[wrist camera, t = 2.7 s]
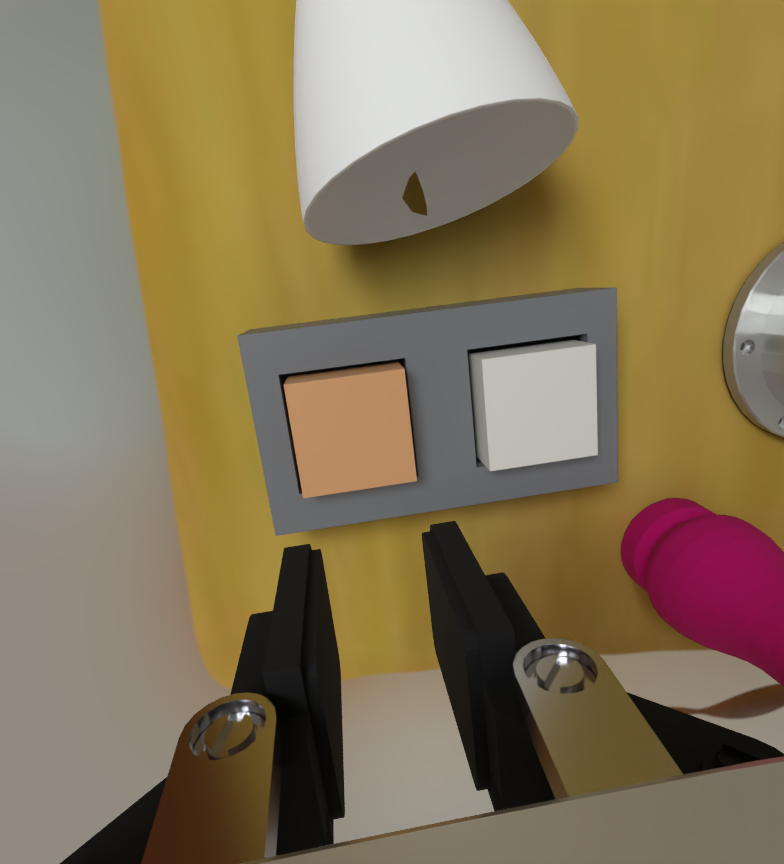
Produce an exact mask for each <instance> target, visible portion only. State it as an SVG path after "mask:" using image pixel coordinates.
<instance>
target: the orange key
mask: <svg viewBox="0 0 784 864" xmlns="http://www.w3.org/2000/svg"><path fill="white" fill-rule="evenodd" d="M284 390H285V396H286V402H287V407H288V413H289V419H290V425H291V430H292V436H293V442H294V448H295V454H296V459H297V465H298V471H299V477H300V482H301V488H302V494H303V498H309V497H316V496H322V495H329V494H336V493H342V492H349V491H355V490H362V489H369V488H375V487H382V486H388V485H395V484H402V483H408V482H415V481H417V476H416V467H415V458H414V449H413V440H412V432H411V423H410V414H409V405H408V396H407V387H406V378H405V369H404V368H403V367H402V366H401V365H400V363H399V362H393V363H385V364H378V365H370V366H363V367H355V368H348V369H341V370H333V371H326V372H318V373H311V374H303V375H296V376H288V377H287V379H286V381H285V383H284Z"/></svg>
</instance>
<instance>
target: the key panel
mask: <svg viewBox="0 0 784 864" xmlns="http://www.w3.org/2000/svg"><path fill="white" fill-rule="evenodd" d="M567 340H577V341H582V342H587V343H592V344H596V379H597V438H598V455H595V456H588V457H582V458H575V459H568V460H562V461H555V462H549V463H542V464H536V465H529V466H522V467H516V468H509V469H503V470H496V471H489V470H488V469H487V467H486V466H485V465H484V464H483V463H482V462H481V461H480V460H479V458H478V457H477V452H476V439H475V426H474V414H473V401H472V389H471V376H470V364H469V354H470V353H478V352H485V351H493V350H500V349H508V348H515V347H523V346H530V345H538V344H545V343H552V342H560V341H567ZM238 341H239V346H240V352H241V357H242V362H243V367H244V372H245V378H246V383H247V388H248V393H249V399H250V404H251V409H252V414H253V419H254V425H255V430H256V435H257V440H258V445H259V451H260V456H261V461H262V466H263V471H264V477H265V482H266V487H267V492H268V498H269V503H270V508H271V513H272V518H273V524H274V529H275V534H276V536H278V535H284V534H290V533H297V532H303V531H310V530H316V529H322V528H329V527H335V526H342V525H348V524H354V523H361V522H367V521H374V520H380V519H386V518H393V517H399V516H406V515H412V514H418V513H425V512H431V511H438V510H444V509H450V508H457V507H463V506H470V505H476V504H482V503H489V502H495V501H502V500H508V499H514V498H521V497H527V496H534V495H540V494H546V493H553V492H559V491H566V490H572V489H578V488H585V487H591V486H597V485H604V484H610V483H617V482H618V419H617V288H575V289H567V290H559V291H552V292H544V293H536V294H528V295H520V296H512V297H504V298H496V299H488V300H480V301H472V302H464V303H457V304H449V305H441V306H433V307H425V308H417V309H409V310H401V311H393V312H385V313H377V314H369V315H362V316H354V317H346V318H338V319H330V320H322V321H314V322H306V323H298V324H290V325H282V326H274V327H267V328H259V329H251V330H248V331H246V332H244V333H242V334H240V335H238ZM393 362H399V363H400V365H401V366H402V367H403V368H404V369H405V378H406V387H407V396H408V405H409V414H410V423H411V432H412V440H413V449H414V458H415V467H416V476H417V481H415V482H408V483H402V484H395V485H388V486H382V487H375V488H369V489H362V490H355V491H349V492H342V493H336V494H329V495H322V496H316V497H309V498H303V494H302V488H301V482H300V477H299V471H298V465H297V459H296V454H295V448H294V442H293V436H292V430H291V425H290V419H289V413H288V407H287V402H286V396H285V390H284V383H285V381H286V379H287V377H288V376H296V375H303V374H311V373H318V372H326V371H333V370H341V369H348V368H355V367H363V366H370V365H378V364H385V363H393Z"/></svg>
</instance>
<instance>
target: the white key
mask: <svg viewBox="0 0 784 864" xmlns="http://www.w3.org/2000/svg"><path fill="white" fill-rule="evenodd" d="M469 364H470V376H471V389H472V401H473V414H474V426H475V439H476V452H477V457H478V458H479V460H480V461H481V462H482V463H483V464H484V465H485V466H486V467H487V469H488V470H489V471H496V470H503V469H509V468H516V467H522V466H529V465H536V464H542V463H549V462H555V461H562V460H568V459H575V458H582V457H588V456H595V455H598V438H597V379H596V344H592V343H587V342H582V341H577V340H567V341H560V342H552V343H545V344H538V345H530V346H523V347H515V348H508V349H500V350H493V351H485V352H478V353H470V354H469Z"/></svg>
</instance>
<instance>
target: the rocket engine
mask: <svg viewBox="0 0 784 864" xmlns="http://www.w3.org/2000/svg"><path fill="white" fill-rule="evenodd" d="M578 118H579V117H578V115H577V113H576V111H575V109H574V107H573V105H572V103H571V101H570V99H569V98H568V96H567V94H566V92H565V90H564V88H563V87H562V85H561V83H560V81H559V80H558V78H557V76H556V74H555V73H554V71H553V69H552V67H551V66H550V64H549V62H548V61H547V59H546V57H545V56H544V54H543V52H542V51H541V49H540V48H539V46H538V44H537V43H536V41H535V40H534V38H533V37H532V35H531V34H530V32H529V31H528V29H527V27H526V26H525V24H524V23H523V22H522V20H521V19H520V17H519V16H518V14H517V13H516V11H515V10H514V9H513V7H512V6H511V4H510V3H509V2H508V0H296V14H295V37H294V130H295V150H296V164H297V177H298V187H299V196H300V204H301V211H302V218H303V223H304V227H305V230H306V231H307V232H308V233H309V234H310V235H311V236H312V237H313V238H315V239H317V240H319V241H322V242H324V243H330V244H336V245H361V244H372V243H378V242H384V241H390V240H394V239H398V238H403V237H406V236H410V235H414V234H417V233H420V232H423V231H427V230H430V229H433V228H436V227H439V226H442V225H445V224H447V223H450V222H453V221H455V220H457V219H460V218H462V217H464V216H467V215H469V214H472V213H474V212H476V211H478V210H480V209H482V208H484V207H486V206H488V205H490V204H492V203H494V202H496V201H498V200H500V199H501V198H503V197H505V196H507V195H508V194H510V193H512V192H514V191H515V190H517V189H518V188H520V187H521V186H523V185H524V184H526V183H528V182H529V181H531V180H532V179H533V178H535V177H536V176H537V175H539V174H540V173H541V172H543V171H544V170H545V169H546V168H548V167H549V166H550V165H551V164H552V163H553V162H554V161H555V160H556V159H557V158H558V157H559V156H561V154H562V153H563V152H564V151H565V149H566V148H567V147H568V146H569V144H570V143H571V142H572V140H573V138H574V136H575V134H576V132H577V130H578ZM414 172H416V174H417V176H418V179H419V182H420V184H421V187H422V190H423V193H424V197H425V201H426V206H427V216H426V215H422V214H418V213H415V212H412V211H411V210H410V208H409V207H408V205H407V204H406V203H405V201H404V200H403V199H402V197H403V194H404V191H405V188H406V186H407V183H408V180H409V178H410V177H411V175H412V174H413V173H414Z"/></svg>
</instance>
